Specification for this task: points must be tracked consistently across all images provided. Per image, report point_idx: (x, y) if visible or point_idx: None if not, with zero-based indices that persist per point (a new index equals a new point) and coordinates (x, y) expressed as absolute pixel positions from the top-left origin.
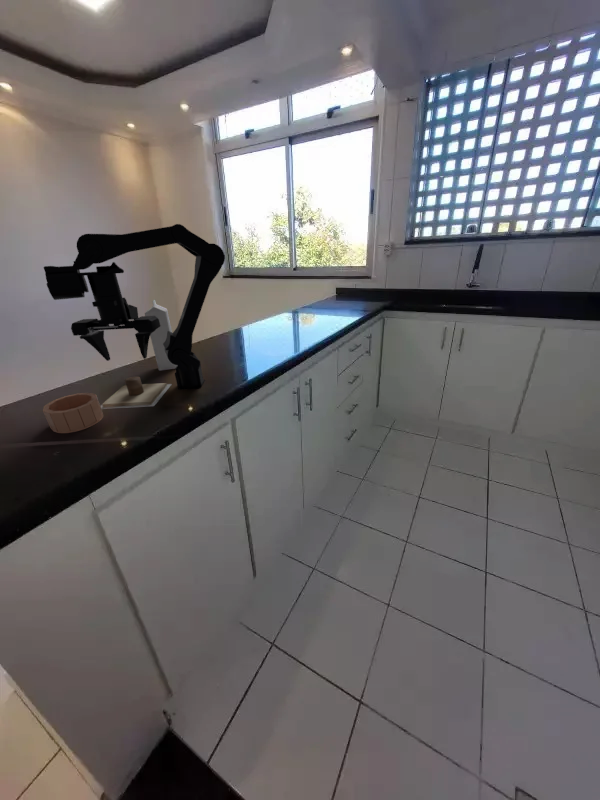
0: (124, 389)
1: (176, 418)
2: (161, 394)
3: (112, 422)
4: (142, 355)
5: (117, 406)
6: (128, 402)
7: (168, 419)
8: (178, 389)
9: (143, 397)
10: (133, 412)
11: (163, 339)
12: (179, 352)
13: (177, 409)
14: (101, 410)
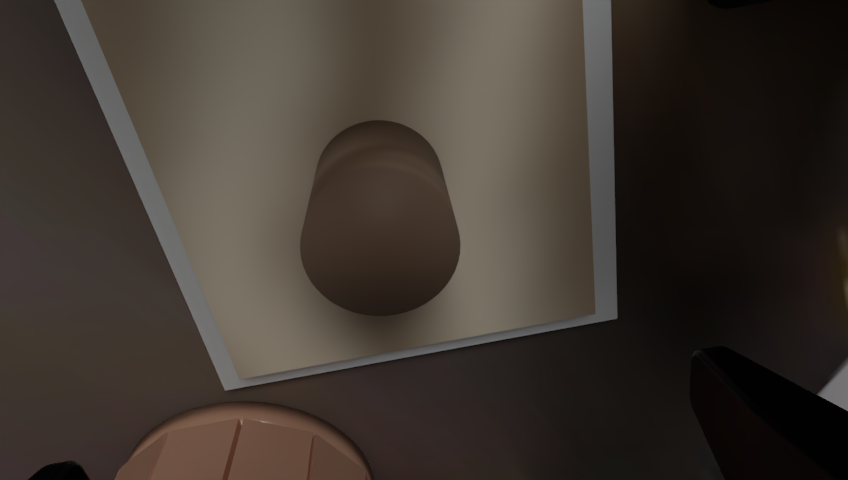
0: (191, 116)
1: None
2: (595, 133)
3: (437, 464)
4: (731, 473)
5: None
6: (429, 340)
7: None
8: (726, 7)
9: (501, 259)
10: (493, 366)
11: None
12: None
13: (775, 307)
14: (341, 472)
